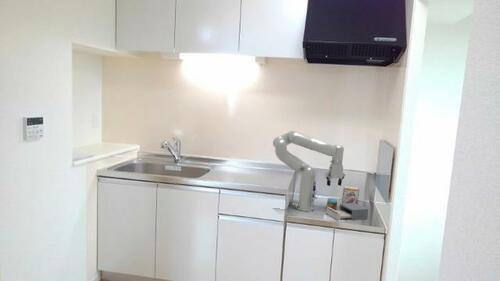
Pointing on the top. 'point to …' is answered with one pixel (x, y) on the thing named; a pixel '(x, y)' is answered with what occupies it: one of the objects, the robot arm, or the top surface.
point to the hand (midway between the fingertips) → (333, 185)
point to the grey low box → (355, 210)
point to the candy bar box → (350, 195)
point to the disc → (332, 200)
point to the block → (332, 205)
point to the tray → (337, 213)
